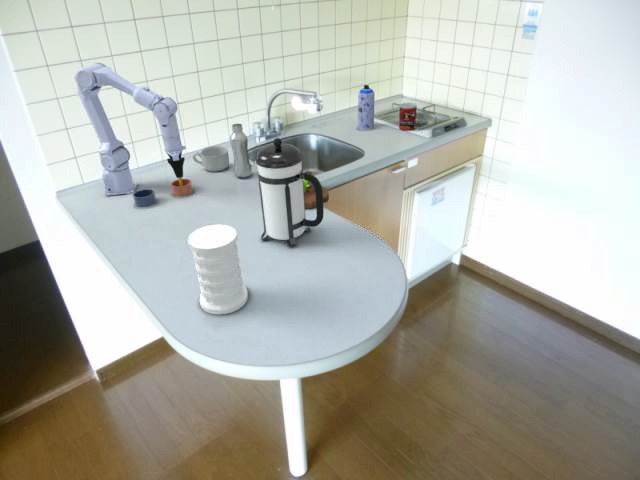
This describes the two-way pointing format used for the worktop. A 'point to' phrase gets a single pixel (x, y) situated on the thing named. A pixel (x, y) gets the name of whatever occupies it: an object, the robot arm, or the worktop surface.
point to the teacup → (213, 158)
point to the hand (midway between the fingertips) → (179, 173)
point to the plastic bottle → (240, 151)
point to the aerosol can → (366, 109)
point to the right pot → (181, 187)
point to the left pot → (144, 198)
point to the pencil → (180, 181)
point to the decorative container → (218, 269)
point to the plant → (312, 193)
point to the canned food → (407, 116)
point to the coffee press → (285, 192)
